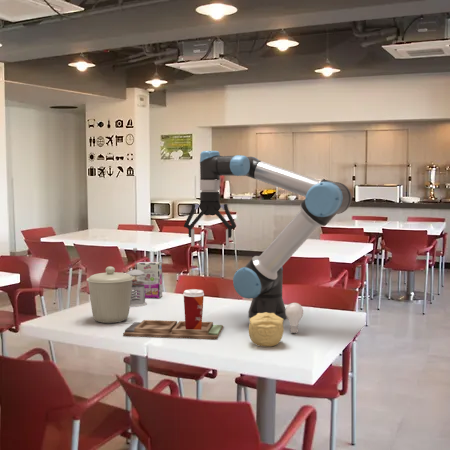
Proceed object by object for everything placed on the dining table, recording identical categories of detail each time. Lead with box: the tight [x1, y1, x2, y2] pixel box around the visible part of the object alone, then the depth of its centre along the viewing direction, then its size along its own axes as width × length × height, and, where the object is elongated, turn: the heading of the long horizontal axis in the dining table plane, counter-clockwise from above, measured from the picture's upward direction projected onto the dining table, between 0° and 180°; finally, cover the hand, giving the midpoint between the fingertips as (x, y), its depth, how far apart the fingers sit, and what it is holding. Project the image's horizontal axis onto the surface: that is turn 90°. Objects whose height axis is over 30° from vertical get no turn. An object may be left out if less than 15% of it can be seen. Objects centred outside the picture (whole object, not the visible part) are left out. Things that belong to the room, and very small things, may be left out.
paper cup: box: [182, 288, 205, 330], centre depth 211 cm, size 8×8×14 cm
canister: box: [86, 265, 135, 324], centre depth 230 cm, size 18×18×21 cm
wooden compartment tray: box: [122, 319, 224, 340], centre depth 212 cm, size 33×16×2 cm, turn 82°
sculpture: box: [248, 312, 285, 348], centre depth 196 cm, size 12×12×11 cm
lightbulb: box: [285, 302, 304, 335], centre depth 210 cm, size 6×6×11 cm
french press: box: [126, 247, 151, 308], centre depth 259 cm, size 10×12×25 cm
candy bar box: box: [135, 261, 163, 299], centre depth 275 cm, size 11×5×16 cm, turn 81°
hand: (210, 246), depth 230 cm, fingers open, 13 cm apart
